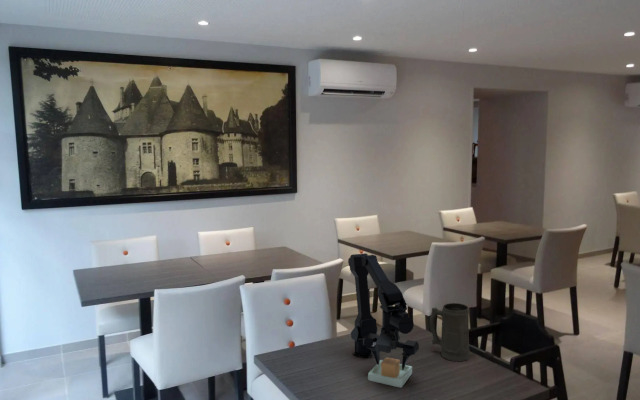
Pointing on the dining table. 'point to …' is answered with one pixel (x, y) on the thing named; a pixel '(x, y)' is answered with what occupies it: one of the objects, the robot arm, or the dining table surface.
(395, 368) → the orange cube
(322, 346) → the dining table surface
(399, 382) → the sage tray
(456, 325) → the beer stein
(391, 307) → the robot arm
